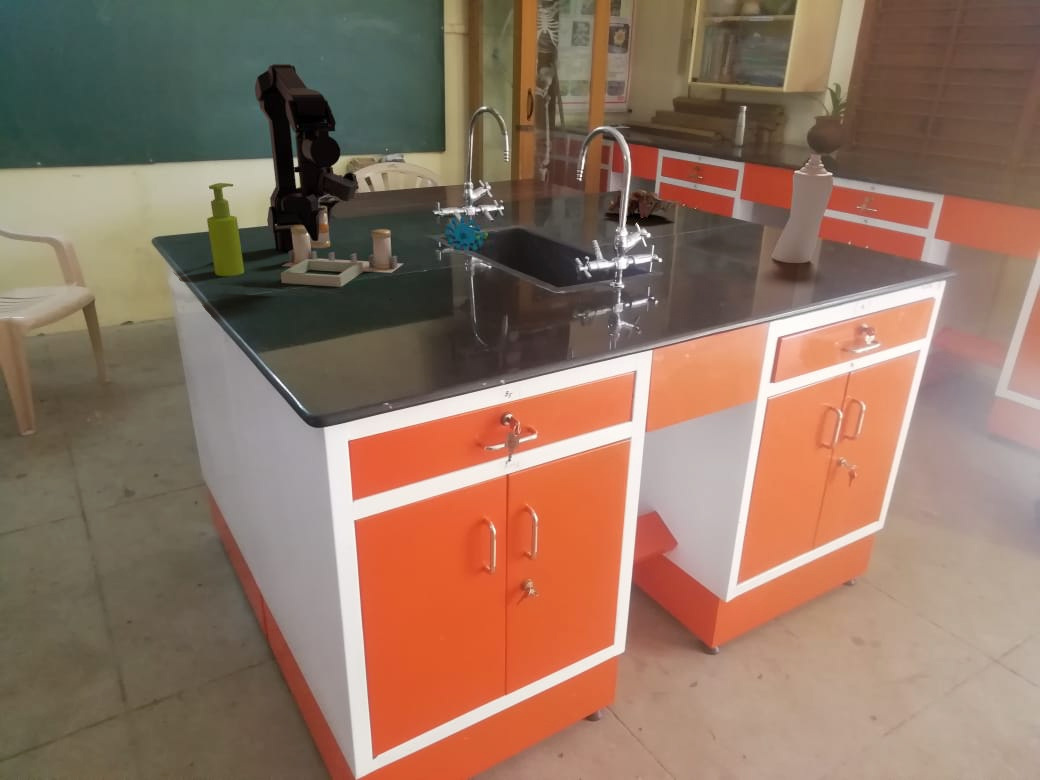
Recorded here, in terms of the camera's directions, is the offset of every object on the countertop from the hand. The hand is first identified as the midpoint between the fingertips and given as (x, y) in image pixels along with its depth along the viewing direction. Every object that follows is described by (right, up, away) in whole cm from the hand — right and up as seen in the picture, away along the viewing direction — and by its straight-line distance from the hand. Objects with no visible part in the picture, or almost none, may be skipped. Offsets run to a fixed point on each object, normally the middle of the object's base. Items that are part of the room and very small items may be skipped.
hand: (319, 238), depth 159 cm
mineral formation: (+79, +21, +74) cm, 110 cm away
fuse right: (+11, -4, +11) cm, 16 cm away
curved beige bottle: (+109, 0, +27) cm, 112 cm away
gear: (+28, +4, +34) cm, 44 cm away
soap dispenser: (-21, -7, +7) cm, 23 cm away
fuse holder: (+2, -5, +13) cm, 14 cm away
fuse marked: (0, -1, +1) cm, 2 cm away
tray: (0, -9, +4) cm, 10 cm away
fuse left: (-7, -3, +14) cm, 16 cm away
